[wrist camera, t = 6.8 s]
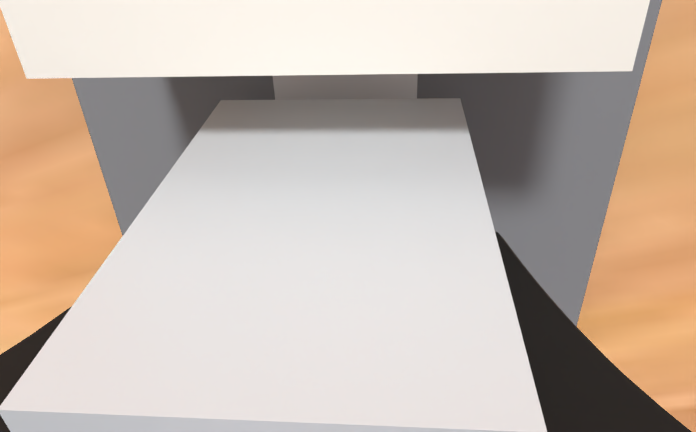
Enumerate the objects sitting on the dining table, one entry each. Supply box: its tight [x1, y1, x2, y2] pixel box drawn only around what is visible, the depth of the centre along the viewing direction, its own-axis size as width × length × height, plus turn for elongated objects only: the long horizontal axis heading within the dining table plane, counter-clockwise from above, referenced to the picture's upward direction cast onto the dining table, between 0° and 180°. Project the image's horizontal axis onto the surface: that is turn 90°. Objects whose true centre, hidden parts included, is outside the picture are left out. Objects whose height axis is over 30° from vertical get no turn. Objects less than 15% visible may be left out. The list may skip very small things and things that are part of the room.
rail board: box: [72, 0, 662, 326], centre depth 13 cm, size 26×12×1 cm, turn 2°
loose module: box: [0, 98, 547, 432], centre depth 9 cm, size 5×4×7 cm
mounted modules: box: [0, 0, 650, 79], centre depth 11 cm, size 16×8×4 cm, turn 2°
